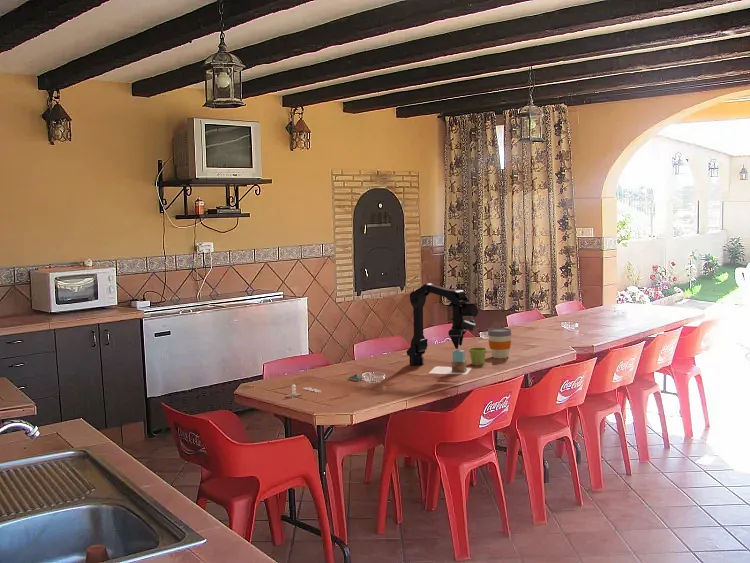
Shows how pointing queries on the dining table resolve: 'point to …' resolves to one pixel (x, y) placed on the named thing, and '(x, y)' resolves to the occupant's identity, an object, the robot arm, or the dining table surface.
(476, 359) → the plant pot
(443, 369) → the board
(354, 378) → the game pieces
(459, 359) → the teal cube
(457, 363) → the walnut block
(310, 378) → the dining table surface
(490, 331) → the reusable coffee cup
